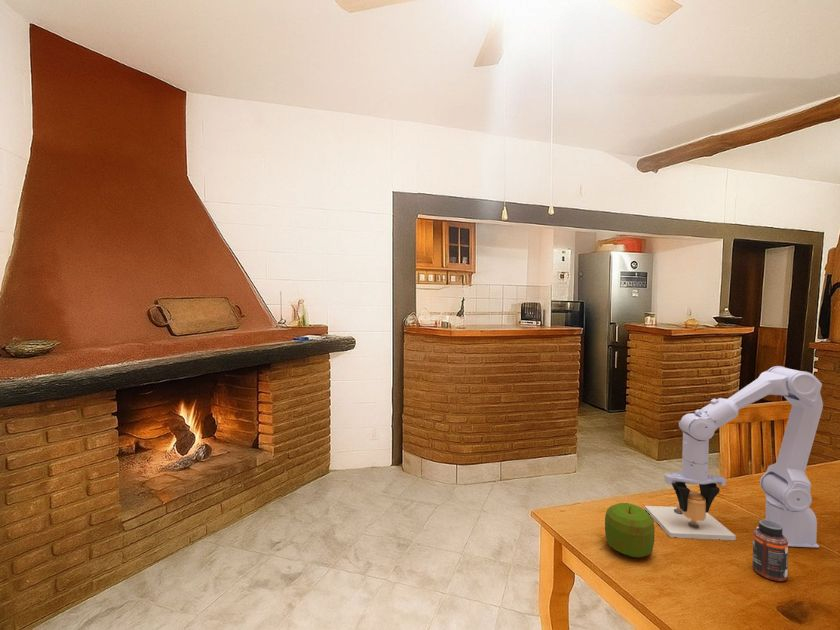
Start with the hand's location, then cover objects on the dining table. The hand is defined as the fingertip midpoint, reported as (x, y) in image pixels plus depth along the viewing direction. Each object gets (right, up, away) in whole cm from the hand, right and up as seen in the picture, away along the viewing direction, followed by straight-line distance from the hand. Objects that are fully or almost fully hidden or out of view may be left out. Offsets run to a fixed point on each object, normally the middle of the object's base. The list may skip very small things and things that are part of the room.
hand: (693, 510), depth 107 cm
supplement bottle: (+5, -6, -17) cm, 19 cm away
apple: (-22, -6, -8) cm, 24 cm away
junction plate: (0, -5, +3) cm, 6 cm away
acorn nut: (0, -2, 0) cm, 2 cm away
